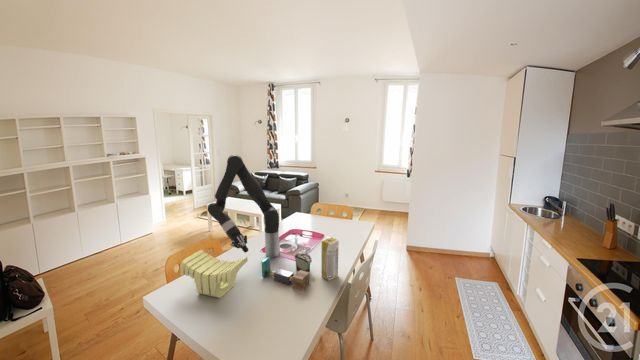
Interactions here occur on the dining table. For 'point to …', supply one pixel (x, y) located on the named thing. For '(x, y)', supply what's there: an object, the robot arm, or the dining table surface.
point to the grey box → (267, 270)
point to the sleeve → (283, 276)
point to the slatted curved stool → (211, 273)
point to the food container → (303, 262)
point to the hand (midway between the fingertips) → (247, 251)
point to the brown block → (301, 280)
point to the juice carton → (329, 258)
